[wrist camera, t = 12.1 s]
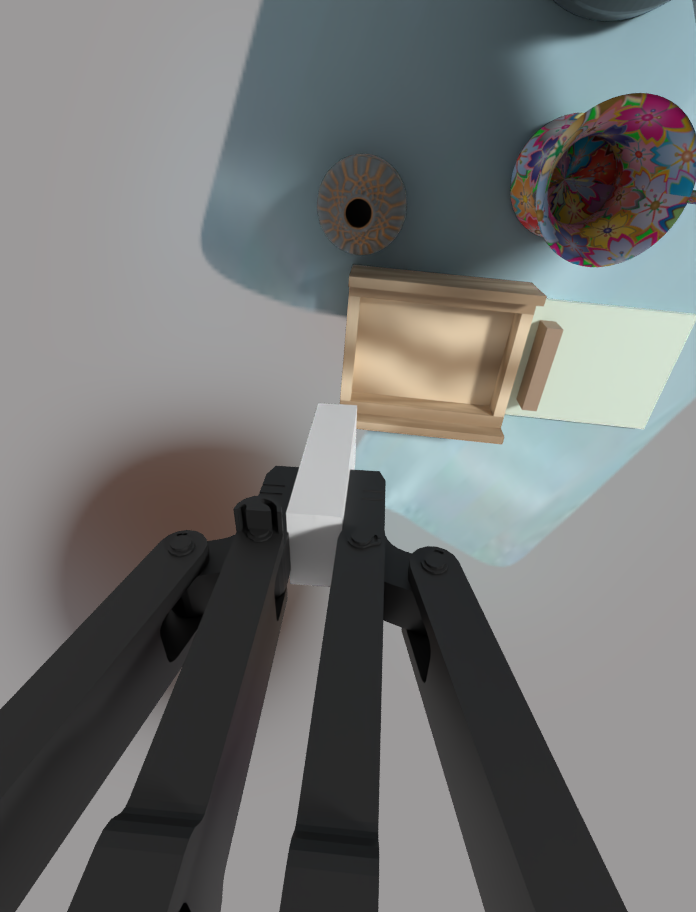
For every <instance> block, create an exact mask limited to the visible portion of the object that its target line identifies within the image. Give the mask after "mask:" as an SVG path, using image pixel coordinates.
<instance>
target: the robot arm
mask: <svg viewBox="0 0 696 912" xmlns="http://www.w3.org/2000/svg"><path fill="white" fill-rule="evenodd" d="M554 1H555V2H556V3H557V4H558V5H560V6H561V7H562V8H564V9H565V10H567V11H569V12H571V13H573V14H575V15H577V16H580V17H583V18H587V19H591V20H597V21H616V20H623V19H628V18H632V17H635V16H639V15H642V14H644V13H647V12H649V11H651V10H653V9H655V8H657V7H659V6H661V5H663V4H665V3H667V2H669V1H671V0H554ZM692 1H693V8H694V14H695V21H696V0H692ZM356 424H357V405H344V404H325V403H318V406H317V409H316V412H315V415H314V419H313V422H312V426H311V429H310V433H309V436H308V440H307V443H306V446H305V450H304V453H303V457H302V460H301V463H300V467H286V466H275V467H274V468H273V469H272V470H271V471H270V472H269V473H267V474H266V477H265V480H264V482H263V486H262V487H261V490H260V494H259V495H258V496H253V497H249V498H246V499H244V500H242V501H241V502H239V503H238V504H237V505H236V506H235V508H234V516H235V524H236V531H237V532H236V534H235V535H233V536H231V537H228V538H224V539H219V540H213V541H207V540H206V538H205V537H204V535H203V534H201V533H199V532H197V531H190V530H185V531H178V532H175V533H173V534H170V535H168V536H167V537H166V538H164V539H163V540H162V541H161V542H160V543H159V544H158V545H157V546H156V547H155V548H154V549H153V550H152V551H151V552H150V553H149V554H148V555H147V556H146V557H145V558H144V559H143V560H142V561H141V562H140V564H139V565H138V566H137V567H136V568H135V569H134V570H133V571H132V572H131V573H130V574H129V575H128V576H127V577H126V578H125V579H124V580H123V582H122V583H120V585H119V586H118V587H117V588H116V589H115V590H114V591H113V592H112V593H111V594H110V595H109V596H108V597H107V598H106V599H105V600H104V601H103V602H102V603H101V604H100V606H99V607H98V608H97V609H96V610H95V611H94V612H93V613H92V614H91V615H90V616H89V617H88V618H87V619H86V620H85V621H84V622H83V623H82V624H81V625H80V626H79V627H78V629H77V630H76V631H75V632H74V633H73V634H72V635H71V636H70V637H69V638H68V639H67V640H66V641H65V642H64V643H63V644H62V645H61V646H60V647H59V649H58V650H57V651H56V652H55V653H54V654H53V655H52V656H51V657H50V658H49V659H48V660H47V661H46V662H45V663H44V664H43V665H42V666H41V667H40V669H39V670H37V672H36V673H35V674H34V675H33V676H32V677H31V678H30V679H29V680H28V681H27V682H26V683H25V684H24V685H23V686H22V687H21V688H20V690H19V691H17V693H16V694H15V695H14V696H13V697H12V698H11V699H10V700H9V701H8V702H7V703H6V704H5V705H4V706H3V707H2V708H1V709H0V912H15V911H16V910H17V908H18V907H19V905H20V904H21V902H22V901H23V900H24V898H25V896H26V895H27V894H28V892H29V891H30V889H31V888H32V886H33V885H34V883H35V882H36V880H37V879H38V878H39V876H40V875H41V873H42V872H43V870H44V869H45V867H46V866H47V864H48V863H49V861H50V860H51V858H52V857H53V856H54V854H55V852H56V851H57V850H58V848H59V847H60V845H61V844H62V842H63V841H64V839H65V838H66V836H67V835H68V833H69V832H70V830H71V829H72V828H73V826H74V824H75V823H76V822H77V820H78V819H79V817H80V816H81V814H82V812H83V811H84V810H85V808H86V807H87V806H88V804H89V803H90V801H91V799H92V798H93V797H94V795H95V794H96V792H97V791H98V789H99V788H100V786H101V785H102V784H103V782H104V781H105V779H106V777H107V776H108V775H109V773H110V772H111V770H112V769H113V767H114V766H115V764H116V763H117V761H118V760H119V759H120V757H121V756H122V754H123V753H124V751H125V750H126V748H127V747H128V745H129V744H130V742H131V741H132V739H133V738H134V737H135V735H136V734H137V732H138V731H139V729H140V728H141V726H142V725H143V723H144V722H145V720H146V719H147V717H148V716H149V714H150V713H151V712H152V710H153V709H154V707H155V706H156V704H157V703H158V701H159V700H160V698H161V697H162V695H163V694H164V692H165V691H166V689H167V688H168V686H169V685H170V684H171V682H172V681H173V679H174V678H175V676H176V675H177V673H178V672H179V670H180V669H181V667H182V669H181V672H180V674H179V676H178V679H177V681H176V684H175V686H174V689H173V691H172V694H171V696H170V699H169V701H168V704H167V706H166V709H165V711H164V714H163V716H162V719H161V721H160V724H159V726H158V729H157V731H156V734H155V736H154V739H153V742H152V744H151V746H150V749H149V751H148V754H147V756H146V759H145V761H144V764H143V766H142V769H141V771H140V773H139V776H138V778H137V781H136V783H135V786H134V788H133V791H132V793H131V796H130V799H129V800H128V803H127V805H126V807H125V808H124V810H123V811H122V812H121V813H120V814H118V815H117V816H115V817H114V818H112V819H111V820H110V821H109V822H108V824H107V825H106V827H105V828H104V829H103V831H102V833H101V835H100V837H99V839H98V841H97V843H96V845H95V847H94V850H93V852H92V854H91V857H90V859H89V861H88V864H87V866H86V869H85V871H84V873H83V876H82V878H81V880H80V883H79V885H78V887H77V890H76V892H75V895H74V897H73V900H72V902H71V904H70V906H69V909H68V911H67V912H220V911H221V903H222V891H223V880H224V873H225V868H226V863H227V859H228V855H229V850H230V846H231V841H232V837H233V833H234V829H235V824H236V820H237V816H238V811H239V807H240V802H241V798H242V794H243V790H244V785H245V781H246V777H247V772H248V768H249V763H250V759H251V755H252V750H253V746H254V742H255V737H256V733H257V728H258V724H259V720H260V716H261V710H262V707H263V703H264V698H265V694H266V690H267V685H268V681H269V676H270V672H271V667H272V663H273V659H274V655H275V650H276V646H277V641H278V637H279V633H280V628H281V624H282V619H283V616H284V611H285V607H286V602H287V583H288V579H289V575H290V584H299V585H312V586H326V587H330V594H329V601H328V608H327V615H326V622H325V629H324V636H323V642H322V649H321V657H320V664H319V670H318V677H317V684H316V691H315V698H314V705H313V712H312V718H311V725H310V732H309V739H308V746H307V753H306V760H305V767H304V773H303V780H302V787H301V794H300V801H299V808H298V815H297V821H296V826H295V831H294V833H293V836H292V839H291V843H290V847H289V853H288V859H287V865H286V871H285V878H284V885H283V892H282V898H281V905H280V911H279V912H378V896H379V842H378V817H379V816H378V815H379V775H380V774H379V773H380V772H379V771H380V732H381V691H382V688H381V687H382V649H383V620H384V621H387V622H389V623H392V624H395V625H397V626H400V627H402V633H403V637H404V640H405V644H406V647H407V650H408V654H409V657H410V661H411V664H412V667H413V671H414V674H415V677H416V681H417V684H418V687H419V691H420V694H421V697H422V701H423V704H424V707H425V711H426V714H427V717H428V721H429V724H430V728H431V731H432V734H433V738H434V741H435V745H436V748H437V751H438V755H439V758H440V761H441V765H442V768H443V771H444V775H445V778H446V781H447V785H448V788H449V791H450V795H451V798H452V802H453V805H454V808H455V812H456V815H457V818H458V822H459V825H460V829H461V832H462V835H463V839H464V842H465V845H466V849H467V852H468V855H469V859H470V862H471V865H472V869H473V872H474V876H475V879H476V882H477V885H478V889H479V892H480V896H481V899H482V903H483V906H484V909H485V912H628V911H627V909H626V907H625V905H624V903H623V901H622V899H621V897H620V895H619V893H618V891H617V889H616V887H615V885H614V882H613V880H612V878H611V876H610V874H609V872H608V870H607V868H606V866H605V864H604V862H603V860H602V858H601V855H600V854H599V852H598V849H597V847H596V845H595V843H594V841H593V839H592V837H591V835H590V833H589V831H588V828H587V827H586V824H585V822H584V820H583V818H582V816H581V814H580V812H579V810H578V808H577V806H576V804H575V802H574V800H573V798H572V795H571V793H570V792H569V789H568V787H567V785H566V783H565V781H564V779H563V777H562V775H561V773H560V771H559V768H558V766H557V764H556V762H555V760H554V758H553V756H552V754H551V752H550V750H549V748H548V746H547V744H546V741H545V740H544V737H543V735H542V733H541V731H540V729H539V727H538V725H537V723H536V721H535V719H534V717H533V715H532V712H531V710H530V708H529V706H528V704H527V702H526V700H525V698H524V696H523V694H522V692H521V690H520V688H519V686H518V684H517V681H516V679H515V677H514V675H513V673H512V671H511V669H510V667H509V665H508V663H507V661H506V659H505V657H504V654H503V652H502V651H501V648H500V646H499V644H498V642H497V640H496V638H495V636H494V634H493V632H492V630H491V628H490V626H489V624H488V621H487V620H486V617H485V615H484V613H483V611H482V609H481V607H480V605H479V603H478V601H477V599H476V597H475V594H474V592H473V590H472V588H471V586H470V584H469V582H468V580H467V578H466V576H465V574H464V572H463V570H462V567H461V566H460V563H459V561H458V560H457V559H456V558H455V556H454V555H453V554H451V553H450V552H448V551H447V550H445V549H442V548H439V547H428V546H427V547H423V548H419V549H418V550H416V551H415V552H413V553H408V552H405V551H403V550H400V549H398V548H396V547H395V546H393V545H392V544H391V543H390V542H389V541H388V540H387V538H386V536H385V531H384V526H385V524H384V523H385V479H384V478H383V476H382V475H381V473H380V471H365V470H354V469H355V451H356Z"/></svg>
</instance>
